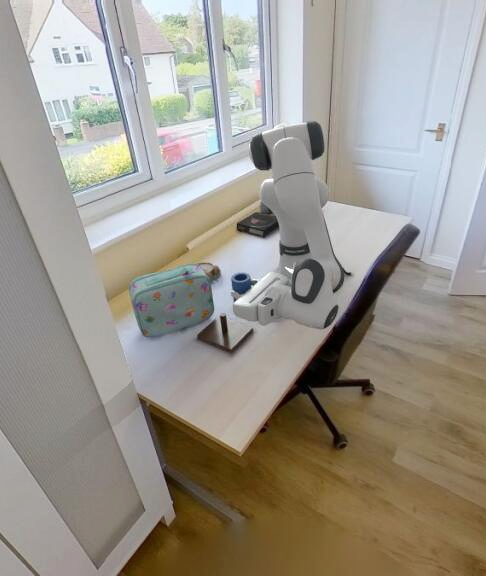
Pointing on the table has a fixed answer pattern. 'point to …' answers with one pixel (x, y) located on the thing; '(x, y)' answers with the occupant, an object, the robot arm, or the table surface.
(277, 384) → the table surface
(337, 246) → the table surface
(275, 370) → the table surface
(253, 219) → the portable cd player
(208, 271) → the alarm clock
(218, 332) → the platform
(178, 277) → the lunch box
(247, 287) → the blue faceted hollow tube
